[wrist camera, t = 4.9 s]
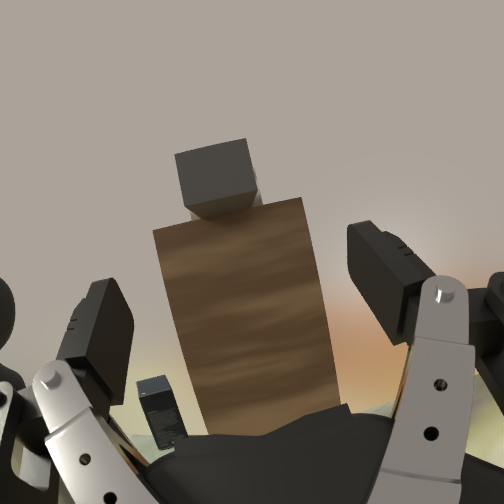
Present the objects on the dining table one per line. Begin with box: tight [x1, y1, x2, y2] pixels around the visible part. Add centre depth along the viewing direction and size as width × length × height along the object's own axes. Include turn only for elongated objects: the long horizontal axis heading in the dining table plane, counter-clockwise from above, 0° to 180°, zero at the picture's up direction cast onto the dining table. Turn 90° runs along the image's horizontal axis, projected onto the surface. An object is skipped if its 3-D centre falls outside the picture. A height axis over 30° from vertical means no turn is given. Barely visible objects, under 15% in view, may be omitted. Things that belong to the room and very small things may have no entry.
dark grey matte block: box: [175, 138, 258, 219], centre depth 27 cm, size 19×4×3 cm, turn 3°
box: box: [136, 375, 189, 450], centre depth 48 cm, size 8×6×11 cm
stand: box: [153, 167, 341, 436], centre depth 32 cm, size 12×12×37 cm
